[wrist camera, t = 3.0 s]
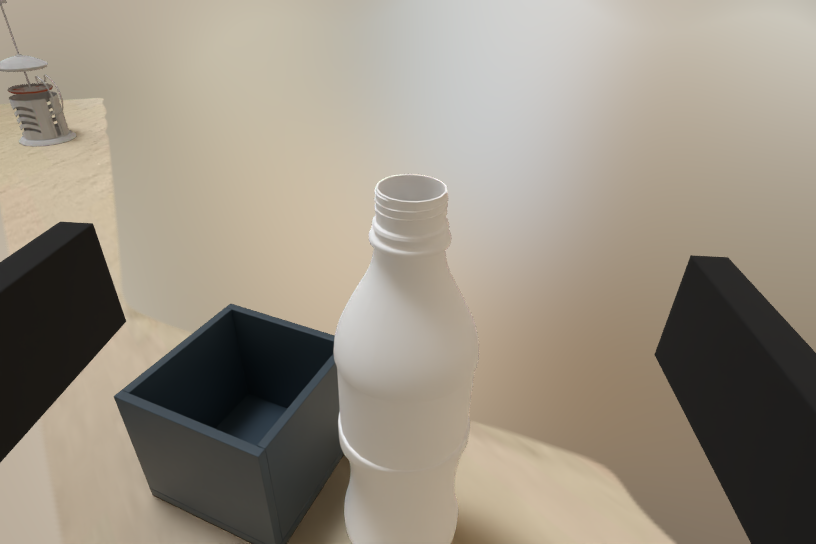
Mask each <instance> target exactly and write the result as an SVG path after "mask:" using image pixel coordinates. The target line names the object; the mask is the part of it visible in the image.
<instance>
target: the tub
mask: <svg viewBox="0 0 816 544" xmlns="http://www.w3.org/2000/svg"><path fill="white" fill-rule="evenodd" d="M334 337H335V336H334V335H330V334H328V333H324V332H321V331H318V330H314V329H311V328H308V327H305V326H301V325H298V324H295V323H292V322H289V321H285V320H282V319H279V318H275V317H272V316H269V315H266V314H263V313H259V312H256V311H253V310H250V309H246V308H243V307H240V306H237V305H234V304H230V305H228V306H227V307H226V308H224V309H223V310H222V311H221V312H219V313H218V314H217V315H215V316H214V317H213V318H212V319H210V320H209V321H208V322H207V323H205V324H204V325H203V326H202V327H200V328H199V329H198V330H197V331H195V332H194V333H193V334H192V335H190V336H189V337H188V338H186V339H185V340H184V341H183V342H181V343H180V344H179V345H178V346H176V347H175V348H174V349H173V350H171V351H170V352H169V353H168V354H166V355H165V356H164V357H163V358H161V359H160V360H159V361H158V362H156V363H155V364H154V365H153V366H151V367H150V368H149V369H147V370H146V371H145V372H144V373H142V374H141V375H140V376H139V377H137V378H136V379H135V380H134V381H132V382H131V383H130V384H129V385H127V386H126V387H125V388H124V389H122V390H121V391H120V392H119V393H117V394H116V395H115V396H114V398H115V401H116V403H117V406H118V408H119V411H120V414H121V416H122V419H123V421H124V424H125V426H126V429H127V431H128V434H129V436H130V439H131V441H132V444H133V446H134V449H135V451H136V454H137V457H138V459H139V462H140V464H141V467H142V469H143V472H144V474H145V477H146V479H147V482H148V484H149V487H150V489H151V492H152V494H153V495H154V496H156V497H158V498H160V499H162V500H164V501H166V502H169V503H171V504H173V505H175V506H177V507H179V508H181V509H183V510H185V511H187V512H189V513H191V514H193V515H195V516H197V517H199V518H201V519H203V520H205V521H208V522H210V523H212V524H214V525H216V526H218V527H220V528H222V529H224V530H226V531H228V532H230V533H232V534H234V535H236V536H238V537H240V538H242V539H244V540H247V541H249V542H251V543H253V544H286V543H287V542H288V540H289V539H290V537H291V535H292V534H293V532H294V531H295V529H296V528H297V526H298V525H299V523H300V521H301V520H302V518H303V517H304V515H305V514H306V512H307V511H308V509H309V508H310V506H311V504H312V503H313V501H314V500H315V498H316V497H317V495H318V494H319V492H320V490H321V489H322V487H323V486H324V484H325V483H326V481H327V480H328V478H329V477H330V475H331V473H332V472H333V470H334V469H335V467H336V466H337V464H338V463H339V461H340V459H341V458H342V456H343V455H344V453H343V451H342V449H341V446H340V441H339V429H338V418H339V412H340V406H339V390H338V375H337V366H336V363H335V361H334V352H333V351H334Z"/></svg>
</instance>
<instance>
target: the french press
mask: <svg viewBox="0 0 816 544" xmlns="http://www.w3.org/2000/svg"><path fill="white" fill-rule="evenodd" d="M2 3H7V2H6V0H0V6H1V9H2V12H3V14H4V17H5V20H6V23H7V25H8V28H9V31H10V34H11V37H12V40H13V42H14V45H15V48H16V50H17V53H18V55H16V56H13V57H9V58H7V59H5V60H3V61H1V62H0V71H6V72H21V71H24V73H25V76H26V79H27V82H28V84H26V85H25V84H24V85H23V84H22V85H17V86H15V87H14V86H12V87H10V88H9V89H8V91H9V92H11V93H13V94H16V95H13V96H11V97H9V100H10V103H11V106H12V108H13V110H14V109H15V108H16V109H17V111H16V112H15V113H14V114H15V116H16V117H17V115H18V114H19V118H18V119H17V121H18V124H19V123H20V121H21V122H22V124H21V125H20V129H21V130H22V129H23V128H24V131H23V133H22V135H23V136H22V137H21V139H20V140H19V143H20V144H22V145H26V146H46V145H54V144H59V143H63V142H67V141H69V140H72V139H74V138H75V137H76V133H74V132H72V131H71V130H69V129H68V126H67V123H66V120H65V117H64V113H63V99H62V97H61V94H60V91H59V89H58V87H57V86H56V84H55V83H54V81H53V80H52V79H51V78H50V77H49V76H47V75H46V74H45V75H44V79H45V80H44V81H43V80H42V79H40V78H39V77H38V76H35V79H36V81H37V78H38V79H40V80H41V81H42V82H38V81H37V83H38V84H35V83H34V84H30V83H29V80H28V77H27V74H26V72H25V71H32V70H38V69H43V68H45V67H46V66H47V65H48V63H47V62H45V61H43V60H41V59H38V58H34V57H31V56H23V55H20V54H19V52H18V49H17V47H16V43H15V41H14V38H13V35H12V32H11V29H10V27H9V24H8V21H7V18H6V15H5V13H4V10H3V7H2ZM45 76H46V77H48V78H49V79H50V80H51V81H52V82H53V83H54V85H55V87H56V88H57V90H58V92H59V95H60V98H61V102H62V108H61V104H60V103H59V98H58V95H57V93H55V92H51V91H50V90H51V89H52V87H53V86H52V85H50V84H45V82H46V77H45ZM41 83H43V84H41ZM48 101H50V102H51V104H50V105H47V102H48ZM50 108H53V111H51V112H50V111H49V109H50ZM54 114H55V118H52V117H51V116H52V115H54ZM56 120H57V124H54V123H53V122H54V121H56Z"/></svg>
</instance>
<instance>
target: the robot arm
mask: <svg viewBox="0 0 816 544" xmlns="http://www.w3.org/2000/svg"><path fill="white" fill-rule="evenodd" d="M125 322H126V319H125V316H124V314H123V311H122V308H121V305H120V302H119V299H118V296H117V293H116V290H115V287H114V284H113V281H112V278H111V275H110V272H109V269H108V267H107V264H106V261H105V258H104V255H103V252H102V249H101V246H100V243H99V240H98V237H97V234H96V231H95V228H94V225H93V224H91V223H73V222H59V223H58V224H56V225H55V226H53V227H52V228H50V229H49V230H47V231H46V232H44V233H43V234H41V235H40V236H38V237H37V238H35V239H34V240H33V241H31V242H30V243H28V244H27V245H25V246H24V247H22V248H21V249H19V250H18V251H16V252H15V253H13V254H12V255H10V256H9V257H7V258H6V259H5V260H3V261H2V262H0V462H1V461H2V460H3V459H4V458H5V457H6V455H7V454H8V453H9V452H10V451H11V450H12V449H13V448H14V447H15V445H16V444H17V443H18V442H19V441H20V440H21V439H22V438H23V436H24V435H25V434H26V433H27V432H28V431H29V430H30V429H31V427H32V426H33V425H34V424H35V423H36V422H37V421H38V420H39V419H40V417H41V416H42V415H43V414H44V413H45V412H46V411H47V410H48V408H49V407H50V406H51V405H52V404H53V403H54V402H55V401H56V399H57V398H58V397H59V396H60V395H61V394H62V393H63V392H64V390H65V389H66V388H67V387H68V386H69V385H70V384H71V383H72V381H73V380H74V379H75V378H76V377H77V376H78V375H79V374H80V373H81V371H82V370H83V369H84V368H85V367H86V366H87V365H88V364H89V362H90V361H91V360H92V359H93V358H94V357H95V356H96V355H97V353H98V352H99V351H100V350H101V349H102V348H103V347H104V346H105V344H106V343H107V342H108V341H109V340H110V339H111V338H112V337H113V335H114V334H115V333H116V332H117V331H118V330H119V329H120V328H121V327H122V325H123V324H124V323H125ZM655 356H656V358H657V360H658V362H659V364H660V366H661V368H662V370H663V372H664V374H665V376H666V378H667V380H668V382H669V384H670V386H671V388H672V389H673V391H674V394H675V395H676V397H677V399H678V401H679V403H680V405H681V407H682V409H683V411H684V413H685V415H686V417H687V419H688V421H689V423H690V425H691V427H692V429H693V431H694V433H695V435H696V437H697V438H698V440H699V442H700V444H701V446H702V448H703V450H704V452H705V454H706V456H707V458H708V460H709V462H710V464H711V466H712V468H713V470H714V472H715V474H716V476H717V477H718V480H719V481H720V483H721V485H722V487H723V489H724V491H725V493H726V495H727V497H728V499H729V501H730V503H731V505H732V507H733V509H734V510H735V513H736V515H737V517H738V519H739V521H740V523H741V525H742V526H743V528H744V530H745V532H746V534H747V536H748V538H749V540H750V542H751V544H816V353H815V352H814V351H813V349H812V348H811V347H810V346H809V345H808V344H807V343H806V342H805V341H804V340H803V339H802V338H801V336H800V335H799V334H798V333H797V332H796V331H795V330H794V329H793V328H792V327H791V326H790V324H789V323H788V322H787V321H786V320H785V319H784V318H783V317H782V316H781V315H780V314H779V313H778V311H776V309H775V308H774V307H773V306H772V305H771V304H770V303H769V302H768V301H767V300H766V298H765V297H764V296H763V295H762V294H761V293H760V292H759V291H758V290H757V289H756V288H755V286H754V285H753V284H752V283H751V282H750V281H749V280H748V279H747V278H746V277H745V276H744V275H743V273H741V271H740V270H739V269H738V268H737V267H736V266H735V265H734V264H733V263H732V261H731V260H730V259H729V258H726V257H708V256H690V259H689V262H688V265H687V267H686V270H685V273H684V276H683V278H682V281H681V284H680V287H679V289H678V292H677V295H676V298H675V300H674V303H673V306H672V308H671V311H670V314H669V317H668V320H667V322H666V325H665V328H664V330H663V333H662V336H661V339H660V342H659V344H658V347H657V350H656V353H655Z"/></svg>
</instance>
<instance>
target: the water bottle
mask: <svg viewBox="0 0 816 544" xmlns="http://www.w3.org/2000/svg"><path fill="white" fill-rule="evenodd" d="M374 201H375V203H376V204H375V212H376V215H375V216H374V218H373V220H372V228H371V229H370V232H369V241H370V244H371V245H372V246H373V247H374V251H373V256H372V260H371V263H370V266H369V268H368V270H367V271H366V273H365V275H364V276H363V278H362V280H361V281H360V283H359V284H358V286H357V287H356V289H355V291H354V292H353V294H352V296H351V297H350V299H349V301H348V303H347V305H346V307H345V308H344V310H343V312H342V314H341V317H340V319H339V322H338V325H337V328H336V334H335V337H334V351H333V352H334V361H335V363H336V366H337V375H338V390H339V406H340V412H339V418H338V429H339V441H340V446H341V449H342V451H343V453H344V455H345V456H346V457H347V458H348V460H349V462H350V470H351V474H350V482H349V485H348V488H347V491H346V496H345V503H344V518H345V525H346V530H347V535H348V537H349V539H350V540H351V542H352V543H353V544H451V542H452V540H453V537H454V534H455V530H456V526H457V519H458V502H457V498H456V496H455V484H454V483H455V474H456V469H457V466H458V462H459V459H460V457H461V455H462V453H463V451H464V449H465V447H466V445H467V442H468V437H469V429H470V419H469V410H470V402H471V393H472V386H473V378H474V372H475V370H476V368H477V364H478V360H479V340H478V334H477V329H476V325H475V322H474V319H473V316H472V315H471V312H470V310H469V308H468V306H467V304H466V301H465V299H464V297H463V295H462V293H461V291H460V290H459V288H458V286H457V284H456V282H455V280H454V279H453V277H452V275H451V273H450V270H449V267H448V264H447V260H446V253H445V250H446V249H447V248H448V247H449V246H450V243H451V233H450V230H449V222H448V219H447V218H446V215H447V205H448V203H447V201H448V193H447V186H446V185H445V184H444V183H443V182H442V181H440V180H438V179H435V178H433V177H429V176H424V175H416V174H403V175H394V176H390V177H387V178H384V179H382V180H381V181H379V182H378V183H377V185H376V187H375V199H374Z"/></svg>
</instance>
